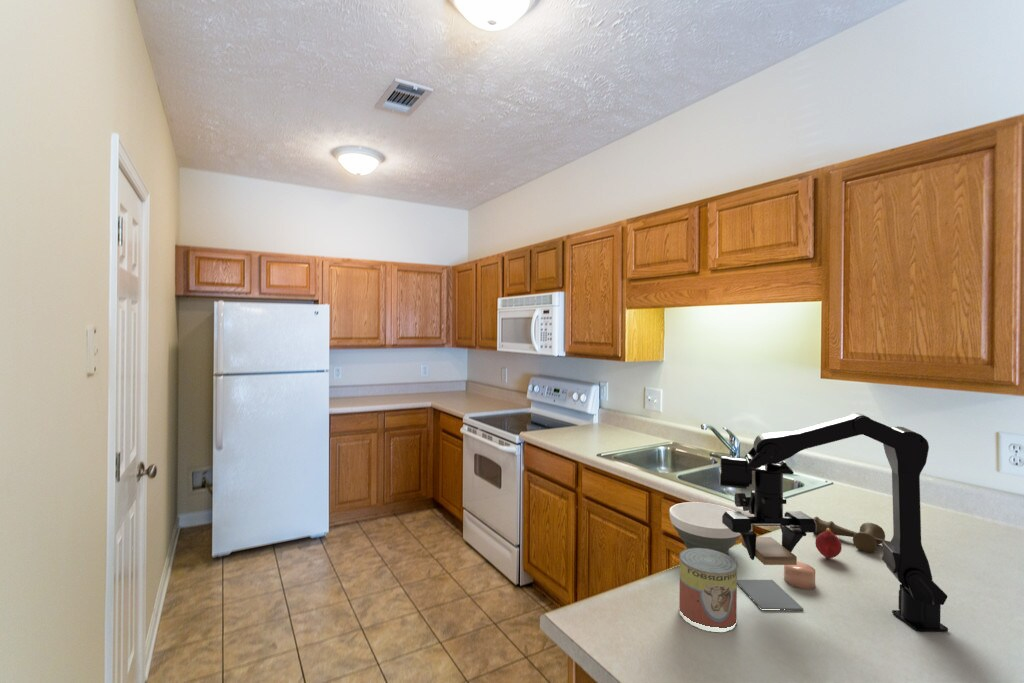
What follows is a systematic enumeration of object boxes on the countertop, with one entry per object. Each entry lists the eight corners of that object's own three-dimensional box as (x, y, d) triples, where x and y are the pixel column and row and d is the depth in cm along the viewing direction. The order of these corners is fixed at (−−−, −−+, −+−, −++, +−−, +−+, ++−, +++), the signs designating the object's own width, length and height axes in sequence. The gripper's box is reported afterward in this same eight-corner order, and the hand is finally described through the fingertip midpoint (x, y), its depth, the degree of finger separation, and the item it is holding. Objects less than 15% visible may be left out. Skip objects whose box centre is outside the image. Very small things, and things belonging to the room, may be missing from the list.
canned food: (691, 633, 94) (691, 573, 94) (671, 601, 105) (671, 547, 105) (747, 632, 94) (748, 572, 94) (721, 601, 105) (721, 547, 105)
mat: (803, 610, 102) (803, 608, 102) (761, 610, 102) (761, 608, 102) (772, 581, 114) (772, 579, 114) (735, 581, 114) (735, 579, 114)
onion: (845, 564, 122) (846, 534, 122) (820, 562, 124) (821, 532, 123) (835, 554, 128) (835, 525, 128) (811, 552, 129) (811, 523, 129)
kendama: (818, 529, 146) (901, 550, 131) (808, 539, 140) (893, 561, 125) (818, 510, 146) (900, 528, 131) (807, 519, 140) (893, 539, 125)
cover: (796, 564, 103) (796, 556, 103) (764, 564, 103) (764, 556, 103) (771, 544, 113) (771, 537, 113) (741, 544, 113) (741, 537, 113)
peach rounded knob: (821, 589, 111) (821, 574, 111) (794, 588, 111) (794, 574, 111) (804, 575, 117) (804, 561, 117) (778, 575, 117) (778, 561, 117)
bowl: (707, 529, 144) (707, 498, 144) (762, 557, 126) (762, 522, 126) (654, 539, 137) (654, 506, 137) (704, 570, 119) (704, 533, 119)
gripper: (788, 480, 116) (788, 543, 116) (712, 480, 115) (711, 543, 116) (818, 495, 104) (817, 565, 105) (733, 495, 104) (733, 565, 105)
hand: (768, 559), depth 108 cm, fingers closed on cover, 7 cm apart
